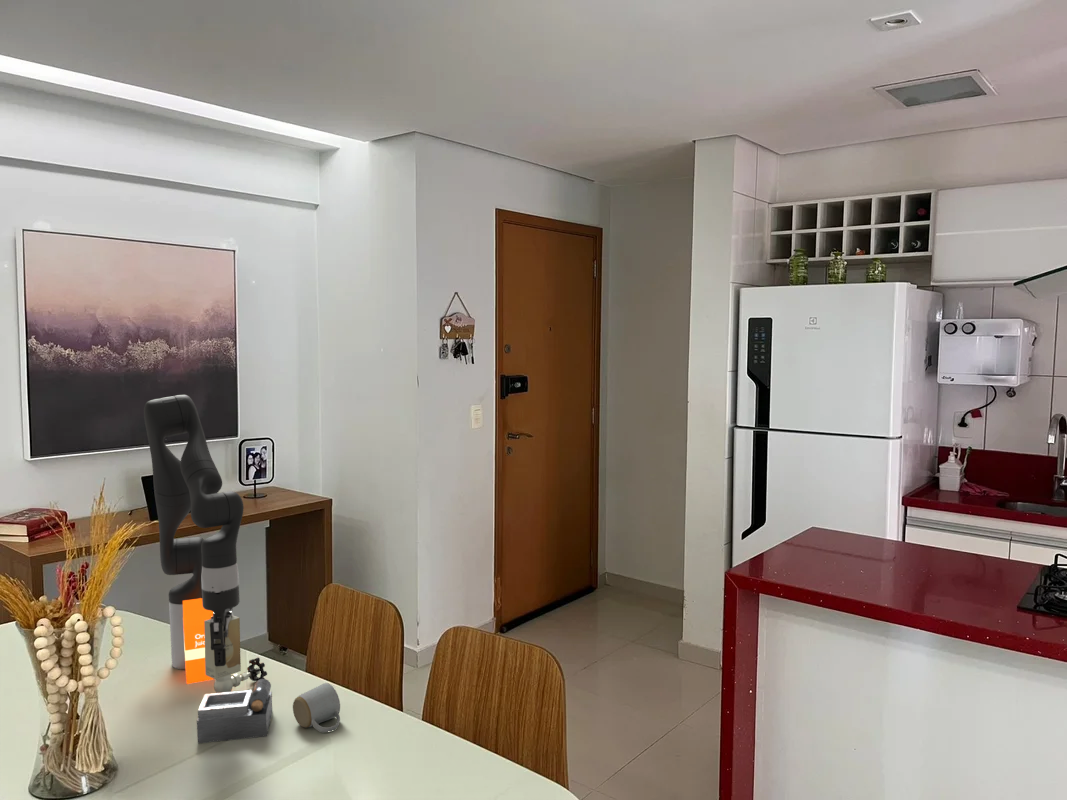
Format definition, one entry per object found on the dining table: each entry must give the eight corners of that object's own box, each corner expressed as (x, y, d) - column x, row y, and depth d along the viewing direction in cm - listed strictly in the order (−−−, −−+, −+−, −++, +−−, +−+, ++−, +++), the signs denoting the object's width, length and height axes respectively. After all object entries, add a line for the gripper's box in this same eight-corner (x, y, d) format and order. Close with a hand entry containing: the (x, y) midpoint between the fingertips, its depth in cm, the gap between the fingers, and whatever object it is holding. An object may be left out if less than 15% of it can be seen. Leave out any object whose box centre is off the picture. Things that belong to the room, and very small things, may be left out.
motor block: (207, 719, 184) (205, 682, 183) (272, 712, 186) (271, 676, 186) (197, 743, 173) (195, 704, 172) (266, 736, 176) (265, 697, 175)
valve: (224, 705, 190) (267, 686, 200) (223, 678, 190) (266, 660, 200) (207, 698, 194) (251, 680, 204) (206, 671, 194) (250, 654, 203)
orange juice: (185, 672, 209) (181, 596, 207) (222, 666, 212) (218, 591, 210) (186, 684, 201) (182, 605, 200) (224, 677, 205) (221, 600, 203)
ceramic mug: (290, 723, 181) (289, 690, 181) (322, 710, 187) (321, 678, 187) (318, 740, 174) (317, 705, 174) (349, 725, 180) (349, 692, 180)
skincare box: (215, 680, 174) (213, 625, 173) (204, 675, 177) (202, 620, 176) (242, 670, 179) (240, 616, 178) (231, 665, 182) (229, 612, 181)
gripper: (208, 575, 183) (211, 647, 184) (195, 596, 169) (198, 673, 170) (243, 573, 184) (246, 644, 186) (233, 593, 170) (236, 670, 172)
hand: (223, 658), depth 178 cm, fingers closed on skincare box, 7 cm apart
